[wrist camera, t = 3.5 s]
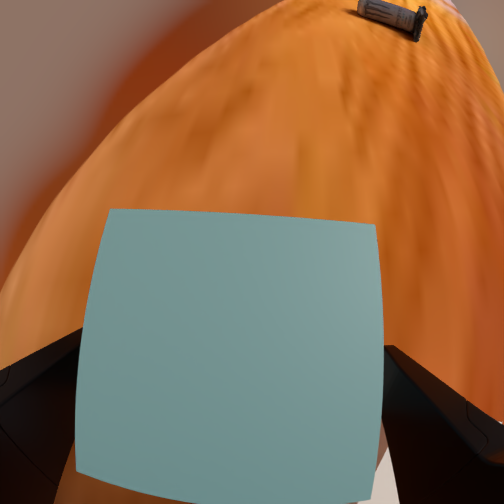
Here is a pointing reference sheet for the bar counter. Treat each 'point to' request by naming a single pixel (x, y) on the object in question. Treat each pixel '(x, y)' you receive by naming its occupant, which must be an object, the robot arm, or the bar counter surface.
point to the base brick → (383, 476)
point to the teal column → (232, 358)
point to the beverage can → (394, 15)
